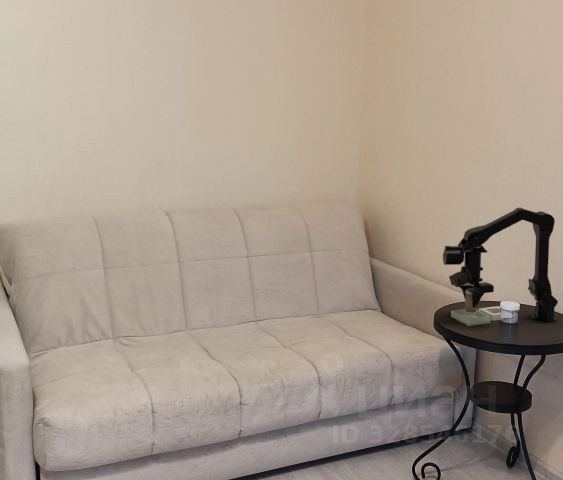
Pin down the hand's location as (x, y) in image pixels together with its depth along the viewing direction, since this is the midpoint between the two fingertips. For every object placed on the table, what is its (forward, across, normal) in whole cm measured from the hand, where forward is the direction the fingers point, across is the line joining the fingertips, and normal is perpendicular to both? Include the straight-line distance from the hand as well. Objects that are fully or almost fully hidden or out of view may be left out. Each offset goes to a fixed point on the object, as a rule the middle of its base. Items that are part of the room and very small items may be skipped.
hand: (470, 305), depth 250 cm
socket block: (+6, -1, +12) cm, 13 cm away
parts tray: (+6, 0, 0) cm, 6 cm away
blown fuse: (+3, 0, 0) cm, 3 cm away
